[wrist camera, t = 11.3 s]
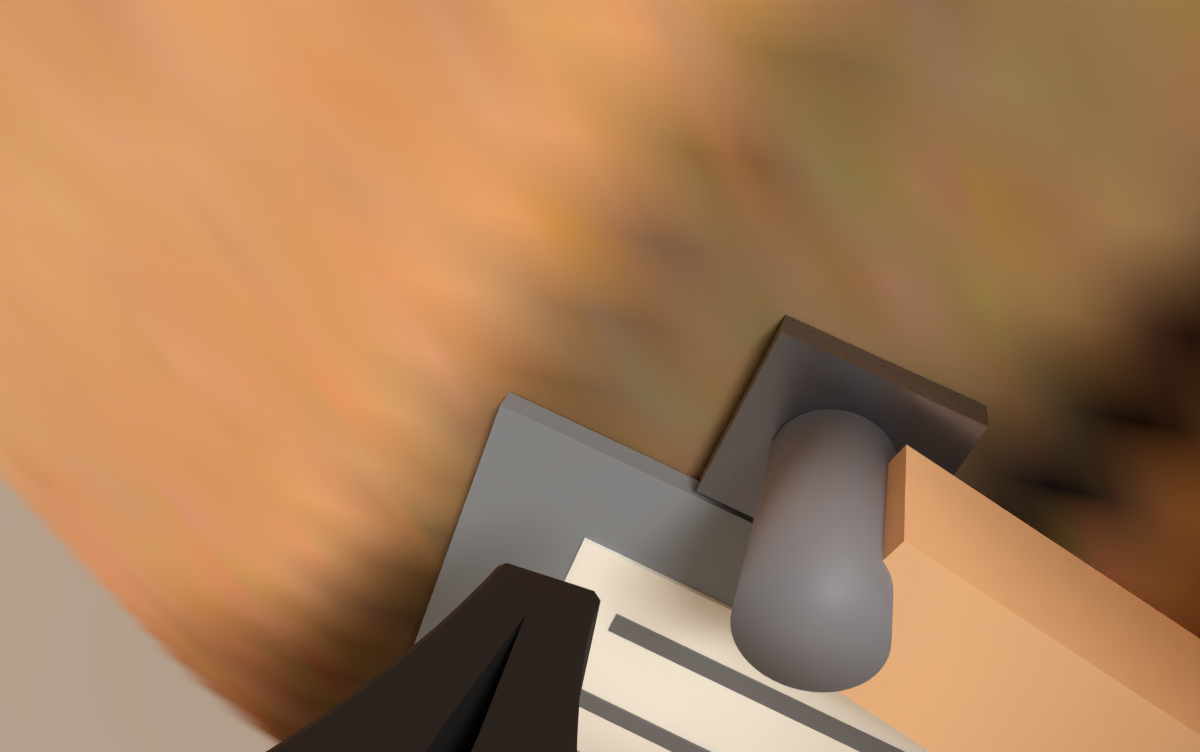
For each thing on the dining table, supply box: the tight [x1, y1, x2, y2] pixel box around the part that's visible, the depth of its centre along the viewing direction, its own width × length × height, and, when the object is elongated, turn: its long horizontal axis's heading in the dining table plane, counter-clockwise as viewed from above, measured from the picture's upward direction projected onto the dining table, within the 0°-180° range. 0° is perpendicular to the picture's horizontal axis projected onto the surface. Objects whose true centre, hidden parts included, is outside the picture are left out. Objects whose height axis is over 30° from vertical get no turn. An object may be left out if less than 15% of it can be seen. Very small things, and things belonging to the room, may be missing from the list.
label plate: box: [414, 392, 930, 752], centre depth 26 cm, size 18×12×1 cm, turn 70°
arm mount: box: [697, 315, 988, 518], centre depth 21 cm, size 4×4×1 cm
